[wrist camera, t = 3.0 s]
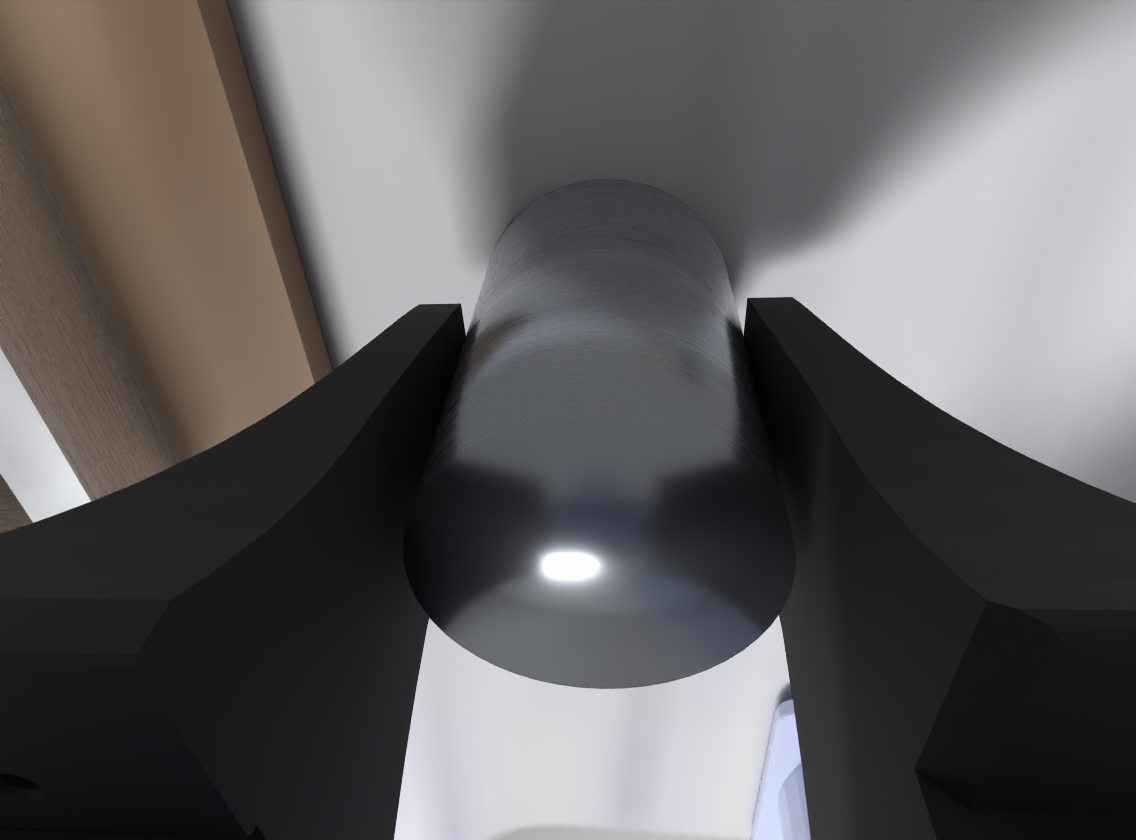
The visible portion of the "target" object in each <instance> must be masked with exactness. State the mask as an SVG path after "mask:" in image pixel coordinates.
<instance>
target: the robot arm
mask: <svg viewBox="0 0 1136 840" xmlns="http://www.w3.org/2000/svg"><path fill="white" fill-rule="evenodd" d="M465 338H466V334H465V328H464V321H463V315H462V308H461V304H421V305H418V306H416V307H415V308H413V309H412V310H410V311H409V312H407V313H406V314H405V315H403V316H402V317H401V318H400V319H398V320H397V321H396V322H394V323H393V324H392V325H391V326H389V327H388V328H387V329H386V330H384V331H383V332H382V333H381V334H379V335H378V336H377V337H376V338H374V339H373V340H372V341H371V342H369V343H368V344H367V345H366V346H364V347H363V348H362V349H360V350H359V351H358V352H357V353H355V354H354V355H353V356H352V357H350V358H349V359H348V360H346V361H345V362H344V363H343V364H341V365H340V366H339V367H337V368H336V369H335V370H333V371H332V372H330V373H329V374H328V375H326V376H325V377H323V378H322V379H320V380H319V381H318V382H316V383H315V384H313V385H312V386H311V387H309V388H308V389H306V390H305V391H303V392H302V393H301V394H299V395H298V396H296V397H295V398H294V399H292V400H291V401H289V402H288V403H286V404H285V405H283V406H282V407H280V408H279V409H277V410H276V411H274V412H272V413H271V414H269V415H268V416H266V417H264V418H263V419H261V420H259V421H258V422H256V423H254V424H253V425H251V426H249V427H247V428H246V429H244V430H242V431H240V432H238V433H237V434H235V435H233V436H231V437H230V438H228V439H226V440H224V441H223V442H221V443H219V444H217V445H215V446H213V447H211V448H209V449H207V450H205V451H203V452H201V453H199V454H197V455H195V456H193V457H190V458H188V459H186V460H184V461H182V462H180V463H178V464H176V465H174V466H172V467H169V468H167V469H165V470H163V471H161V472H159V473H157V474H155V475H153V476H151V477H148V478H146V479H144V480H142V481H140V482H137V483H135V484H133V485H130V486H128V487H126V488H123V489H121V490H118V491H116V492H113V493H111V494H108V495H106V496H104V497H101V498H99V499H96V500H94V501H91V502H88V503H86V504H83V505H80V506H78V507H75V508H72V509H70V510H67V511H64V512H62V513H59V514H56V515H54V516H51V517H48V518H45V519H42V520H40V521H37V522H34V523H31V524H28V525H25V526H22V527H19V528H16V529H13V530H10V531H6V532H3V533H0V840H394V833H395V826H396V819H397V812H398V805H399V798H400V790H401V783H402V776H403V769H404V762H405V755H406V749H407V742H408V736H409V730H410V724H411V717H412V711H413V705H414V699H415V692H416V686H417V681H418V675H419V669H420V664H421V658H422V653H423V647H424V641H425V636H426V630H427V625H428V621H429V616H428V615H427V613H426V612H425V611H424V610H423V608H422V607H421V606H420V604H419V602H418V600H417V598H416V597H415V595H414V593H413V591H412V589H411V586H410V584H409V581H408V578H407V575H406V571H405V566H404V560H403V538H404V533H405V528H406V524H407V520H408V517H409V513H410V510H411V507H412V504H413V501H414V498H415V495H416V492H417V488H418V485H419V482H420V479H421V476H422V473H423V470H424V467H425V463H426V460H427V457H428V454H429V451H430V448H431V445H432V442H433V438H434V435H435V432H436V429H437V426H438V423H439V420H440V417H441V413H442V410H443V407H444V404H445V401H446V398H447V395H448V392H449V388H450V385H451V382H452V379H453V376H454V373H455V370H456V367H457V363H458V360H459V357H460V354H461V351H462V348H463V345H464V342H465ZM744 341H745V345H746V349H747V353H748V357H749V361H750V365H751V369H752V373H753V377H754V381H755V385H756V389H757V393H758V397H759V401H760V405H761V409H762V413H763V417H764V421H765V425H766V429H767V433H768V437H769V441H770V445H771V449H772V453H773V457H774V461H775V465H776V469H777V473H778V477H779V481H780V485H781V489H782V493H783V497H784V501H785V505H786V509H787V513H788V517H789V521H790V525H791V529H792V533H793V537H794V541H795V549H796V570H795V578H794V582H793V585H792V589H791V592H790V595H789V597H788V599H787V601H786V603H785V605H784V607H783V609H782V611H781V612H780V613H779V617H780V621H781V626H782V631H783V638H784V644H785V651H786V658H787V664H788V671H789V677H790V684H791V691H792V698H793V699H790V700H787V701H784V702H783V703H781V704H780V705H779V706H778V707H777V709H776V711H775V716H774V721H773V726H772V731H771V736H770V741H769V746H768V751H767V756H766V761H765V766H764V771H763V776H762V781H761V786H760V791H759V796H758V801H757V806H756V811H755V816H754V821H753V826H752V831H751V836H750V840H1136V503H1133V502H1130V501H1128V500H1125V499H1123V498H1120V497H1118V496H1115V495H1113V494H1110V493H1108V492H1106V491H1103V490H1101V489H1098V488H1096V487H1093V486H1091V485H1088V484H1086V483H1084V482H1081V481H1079V480H1077V479H1075V478H1073V477H1070V476H1068V475H1066V474H1064V473H1062V472H1059V471H1057V470H1055V469H1053V468H1051V467H1048V466H1046V465H1044V464H1042V463H1040V462H1038V461H1035V460H1033V459H1031V458H1029V457H1027V456H1025V455H1023V454H1021V453H1019V452H1017V451H1015V450H1013V449H1011V448H1009V447H1007V446H1005V445H1003V444H1001V443H999V442H997V441H995V440H994V439H992V438H990V437H988V436H986V435H985V434H983V433H981V432H979V431H977V430H976V429H974V428H972V427H970V426H969V425H967V424H965V423H963V422H961V421H960V420H958V419H956V418H954V417H953V416H951V415H949V414H948V413H946V412H944V411H943V410H941V409H940V408H938V407H936V406H935V405H933V404H932V403H930V402H929V401H927V400H926V399H924V398H923V397H921V396H920V395H918V394H917V393H915V392H914V391H912V390H911V389H909V388H908V387H907V386H905V385H904V384H902V383H901V382H899V381H898V380H896V379H895V378H894V377H892V376H891V375H889V374H888V373H887V372H885V371H884V370H883V369H881V368H880V367H879V366H877V365H876V364H875V363H873V362H872V361H871V360H869V359H868V358H867V357H866V356H864V355H863V354H862V353H860V352H859V351H858V350H857V349H855V348H854V347H853V346H852V345H850V344H849V343H848V342H847V341H846V340H844V339H843V338H842V337H841V336H839V335H838V334H837V333H836V332H835V331H833V330H832V329H831V328H830V327H829V326H827V325H826V324H825V323H824V322H823V321H821V320H820V319H819V318H818V317H817V316H816V315H814V314H813V313H812V312H811V311H810V310H808V309H807V308H806V307H805V306H803V305H802V304H801V303H800V302H798V301H797V300H795V299H794V298H793V297H778V298H747V308H746V318H745V328H744Z"/></svg>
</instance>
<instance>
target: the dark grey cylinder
mask: <svg viewBox="0 0 1136 840" xmlns="http://www.w3.org/2000/svg"><path fill="white" fill-rule="evenodd" d="M403 560H404V566H405V571H406V575H407V578H408V581H409V584H410V586H411V589H412V591H413V593H414V595H415V597H416V598H417V600H418V602H419V604H420V606H421V607H422V608H423V610H424V611H425V612H426V613H427V615H428V616H429V617H430V619H431V620H432V621H433V622H434V623H435V624H436V625H437V626H438V627H439V628H440V629H441V630H442V631H443V632H444V633H445V634H446V635H447V636H449V637H450V638H451V639H453V640H454V641H455V642H456V643H458V644H459V645H460V646H462V647H463V648H465V649H466V650H468V651H470V652H471V653H473V654H474V655H476V656H477V657H479V658H481V659H483V660H485V661H487V662H489V663H491V664H493V665H495V666H498V667H500V668H503V669H505V670H508V671H510V672H513V673H515V674H518V675H522V676H525V677H528V678H532V679H535V680H539V681H544V682H548V683H553V684H558V685H565V686H572V687H580V688H597V689H615V688H632V687H643V686H650V685H655V684H661V683H666V682H670V681H674V680H678V679H682V678H685V677H689V676H691V675H694V674H697V673H700V672H702V671H705V670H708V669H710V668H712V667H714V666H716V665H718V664H720V663H722V662H725V661H726V660H728V659H730V658H731V657H733V656H735V655H736V654H738V653H739V652H741V651H743V650H744V649H745V648H747V647H748V646H749V645H750V644H752V643H753V642H754V641H755V640H757V639H758V638H759V637H760V636H761V635H762V634H763V633H764V632H765V631H766V630H767V629H768V628H769V627H770V626H771V624H772V623H773V622H774V620H775V619H776V618H777V616H778V615H779V613H780V612H781V611H782V609H783V607H784V605H785V603H786V601H787V599H788V597H789V595H790V592H791V589H792V585H793V582H794V578H795V570H796V549H795V541H794V537H793V533H792V529H791V525H790V521H789V517H788V513H787V509H786V505H785V501H784V497H783V493H782V489H781V485H780V481H779V477H778V473H777V469H776V465H775V461H774V457H773V453H772V449H771V445H770V441H769V437H768V433H767V429H766V425H765V421H764V417H763V413H762V409H761V405H760V401H759V397H758V393H757V389H756V385H755V381H754V377H753V373H752V369H751V365H750V361H749V357H748V353H747V349H746V345H745V341H744V337H743V333H742V329H741V325H740V321H739V317H738V313H737V309H736V305H735V301H734V297H733V293H732V289H731V285H730V281H729V277H728V273H727V269H726V265H725V262H724V258H723V255H722V252H721V250H720V248H719V246H718V244H717V241H716V239H715V238H714V236H713V235H712V233H711V232H710V230H709V229H708V227H707V226H706V225H705V224H704V222H703V221H702V220H701V219H700V218H699V217H698V216H697V215H696V214H695V213H694V212H693V211H692V210H691V209H689V208H688V207H687V206H686V205H685V204H683V203H682V202H680V201H678V200H677V199H675V198H674V197H672V196H671V195H669V194H666V193H664V192H662V191H660V190H658V189H655V188H653V187H649V186H646V185H643V184H640V183H635V182H629V181H623V180H594V181H585V182H581V183H576V184H572V185H568V186H566V187H563V188H560V189H558V190H555V191H552V192H551V193H549V194H547V195H545V196H543V197H541V198H539V199H538V200H536V201H535V202H534V203H532V204H531V205H529V206H528V207H527V208H525V209H524V210H523V211H522V212H521V213H520V214H519V215H518V216H517V217H516V218H515V219H514V220H513V221H512V222H511V224H510V225H509V226H508V227H507V229H506V230H505V231H504V233H503V235H502V236H501V238H500V240H499V241H498V243H497V245H496V247H495V250H494V252H493V255H492V257H491V260H490V263H489V267H488V270H487V273H486V276H485V279H484V282H483V285H482V288H481V292H480V295H479V298H478V301H477V304H476V307H475V310H474V313H473V317H472V320H471V323H470V326H469V329H468V332H467V335H466V338H465V342H464V345H463V348H462V351H461V354H460V357H459V360H458V363H457V367H456V370H455V373H454V376H453V379H452V382H451V385H450V388H449V392H448V395H447V398H446V401H445V404H444V407H443V410H442V413H441V417H440V420H439V423H438V426H437V429H436V432H435V435H434V438H433V442H432V445H431V448H430V451H429V454H428V457H427V460H426V463H425V467H424V470H423V473H422V476H421V479H420V482H419V485H418V488H417V492H416V495H415V498H414V501H413V504H412V507H411V510H410V513H409V517H408V520H407V524H406V528H405V533H404V538H403Z"/></svg>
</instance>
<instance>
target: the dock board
mask: <svg viewBox="0 0 1136 840" xmlns="http://www.w3.org/2000/svg"><path fill="white" fill-rule="evenodd" d="M0 80H1V82H2V84H3V87H4V89H5V91H6V93H7V95H8V97H9V99H10V101H11V103H12V106H13V108H14V110H15V112H16V114H17V116H18V118H19V120H20V122H21V125H22V127H23V129H24V131H25V133H26V135H27V137H28V139H29V142H30V144H31V146H32V148H33V150H34V152H35V154H36V156H37V158H38V161H39V163H40V165H41V167H42V169H43V171H44V173H45V175H46V178H47V180H48V182H49V184H50V186H51V188H52V190H53V192H54V194H55V197H56V199H57V201H58V203H59V205H60V207H61V209H62V211H63V213H64V216H65V218H66V220H67V222H68V224H69V226H70V228H71V230H72V233H73V235H74V237H75V239H76V241H77V243H78V245H79V247H80V249H81V252H82V254H83V256H84V258H85V260H86V262H87V264H88V266H89V268H90V271H91V273H92V275H93V277H94V279H95V281H96V283H97V285H98V288H99V290H100V292H101V294H102V296H103V298H104V300H105V302H106V304H107V307H108V309H109V311H110V313H111V315H112V317H113V319H114V321H115V324H116V326H117V328H118V330H119V332H120V334H121V336H122V338H123V340H124V343H125V345H126V347H127V349H128V351H129V353H130V355H131V357H132V359H133V362H134V364H135V366H136V368H137V370H138V372H139V374H140V376H141V379H142V381H143V383H144V385H145V387H146V389H147V391H148V393H149V395H150V398H151V400H152V402H153V404H154V406H155V408H156V410H157V412H158V414H159V417H160V419H161V421H162V423H163V425H164V427H165V429H166V431H167V434H168V436H169V438H170V440H171V442H172V444H173V446H174V448H175V450H176V453H177V455H178V457H179V459H180V461H181V462H182V461H184V460H186V459H188V458H190V457H193V456H195V455H197V454H199V453H201V452H203V451H205V450H207V449H209V448H211V447H213V446H215V445H217V444H219V443H221V442H223V441H224V440H226V439H228V438H230V437H231V436H233V435H235V434H237V433H238V432H240V431H242V430H244V429H246V428H247V427H249V426H251V425H253V424H254V423H256V422H258V421H259V420H261V419H263V418H264V417H266V416H268V415H269V414H271V413H272V412H274V411H276V410H277V409H279V408H280V407H282V406H283V405H285V404H286V403H288V402H289V401H291V400H292V399H294V398H295V397H296V396H298V395H299V394H301V393H302V392H303V391H305V390H306V389H308V388H309V387H311V386H312V385H313V384H315V383H316V382H318V381H319V380H320V379H322V378H323V377H325V376H326V375H328V374H329V373H330V372H332V371H333V370H332V367H331V363H330V360H329V356H328V353H327V349H326V346H325V342H324V339H323V335H322V332H321V328H320V325H319V321H318V318H317V314H316V311H315V307H314V304H313V300H312V297H311V293H310V290H309V286H308V283H307V279H306V276H305V273H304V269H303V266H302V262H301V259H300V255H299V252H298V248H297V245H296V241H295V238H294V234H293V231H292V227H291V224H290V220H289V217H288V213H287V210H286V206H285V203H284V199H283V196H282V192H281V189H280V185H279V182H278V178H277V175H276V171H275V168H274V164H273V161H272V157H271V154H270V150H269V147H268V144H267V140H266V137H265V133H264V130H263V126H262V123H261V119H260V116H259V112H258V109H257V105H256V102H255V98H254V95H253V91H252V88H251V84H250V81H249V77H248V74H247V70H246V67H245V63H244V60H243V56H242V53H241V49H240V46H239V42H238V39H237V35H236V32H235V28H234V25H233V21H232V18H231V15H230V11H229V8H228V4H227V1H226V0H0Z"/></svg>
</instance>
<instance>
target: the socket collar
mask: <svg viewBox="0 0 1136 840" xmlns="http://www.w3.org/2000/svg"><path fill="white" fill-rule="evenodd" d="M180 462H181V461H180V459H179V457H178V455H177V453H176V450H175V448H174V446H173V444H172V442H171V440H170V438H169V436H168V434H167V431H166V429H165V427H164V425H163V423H162V421H161V419H160V417H159V414H158V412H157V410H156V408H155V406H154V404H153V402H152V400H151V398H150V395H149V393H148V391H147V389H146V387H145V385H144V383H143V381H142V379H141V376H140V374H139V372H138V370H137V368H136V366H135V364H134V362H133V359H132V357H131V355H130V353H129V351H128V349H127V347H126V345H125V343H124V340H123V338H122V336H121V334H120V332H119V330H118V328H117V326H116V324H115V321H114V319H113V317H112V315H111V313H110V311H109V309H108V307H107V304H106V302H105V300H104V298H103V296H102V294H101V292H100V290H99V288H98V285H97V283H96V281H95V279H94V277H93V275H92V273H91V271H90V268H89V266H88V264H87V262H86V260H85V258H84V256H83V254H82V252H81V249H80V247H79V245H78V243H77V241H76V239H75V237H74V235H73V233H72V230H71V228H70V226H69V224H68V222H67V220H66V218H65V216H64V213H63V211H62V209H61V207H60V205H59V203H58V201H57V199H56V197H55V194H54V192H53V190H52V188H51V186H50V184H49V182H48V180H47V178H46V175H45V173H44V171H43V169H42V167H41V165H40V163H39V161H38V158H37V156H36V154H35V152H34V150H33V148H32V146H31V144H30V142H29V139H28V137H27V135H26V133H25V131H24V129H23V127H22V125H21V122H20V120H19V118H18V116H17V114H16V112H15V110H14V108H13V106H12V103H11V101H10V99H9V97H8V95H7V93H6V91H5V89H4V87H3V84H2V82H1V80H0V533H3V532H6V531H10V530H13V529H16V528H19V527H22V526H25V525H28V524H31V523H34V522H37V521H40V520H42V519H45V518H48V517H51V516H54V515H56V514H59V513H62V512H64V511H67V510H70V509H72V508H75V507H78V506H80V505H83V504H86V503H88V502H91V501H94V500H96V499H99V498H101V497H104V496H106V495H108V494H111V493H113V492H116V491H118V490H121V489H123V488H126V487H128V486H130V485H133V484H135V483H137V482H140V481H142V480H144V479H146V478H148V477H151V476H153V475H155V474H157V473H159V472H161V471H163V470H165V469H167V468H169V467H172V466H174V465H176V464H178V463H180Z"/></svg>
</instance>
